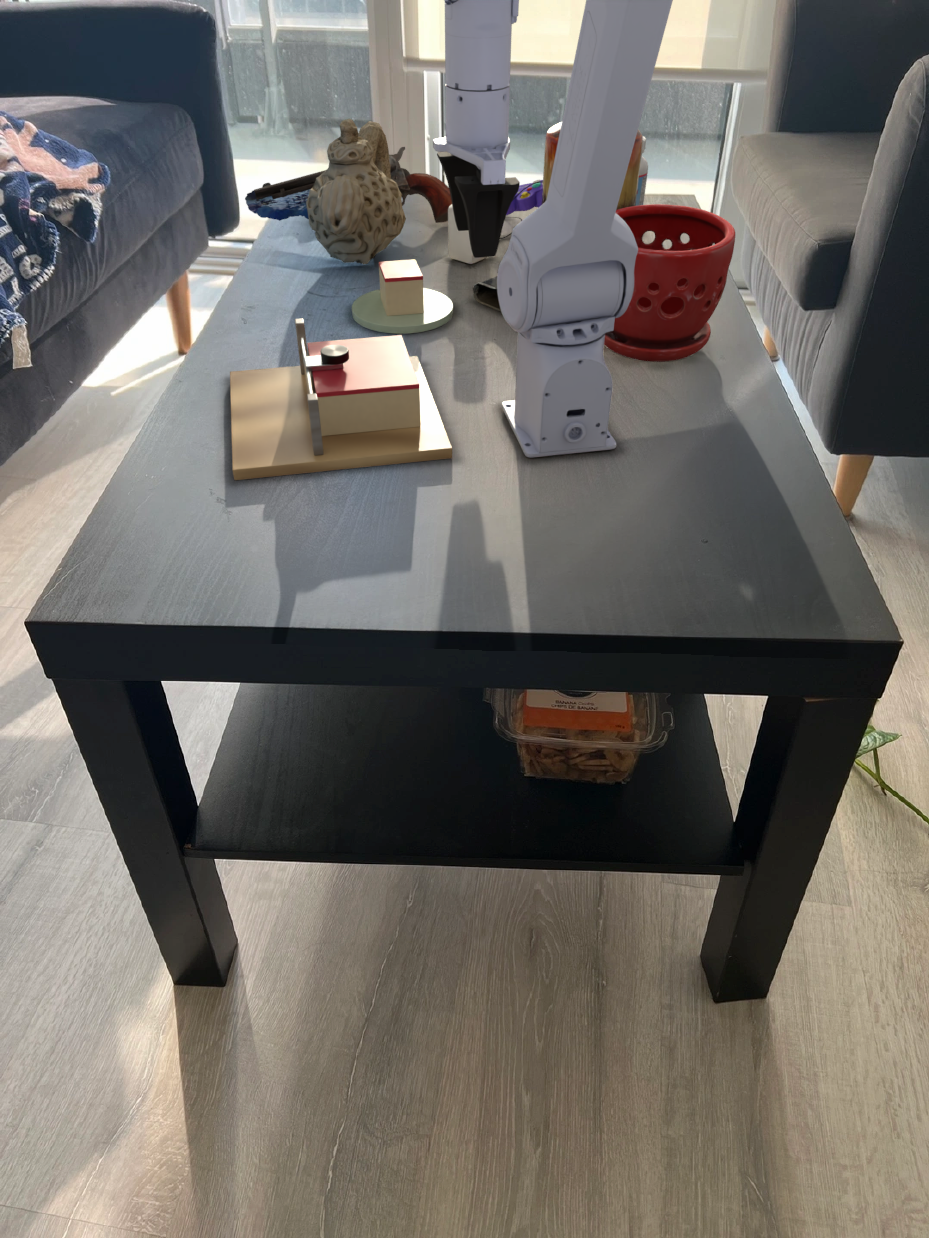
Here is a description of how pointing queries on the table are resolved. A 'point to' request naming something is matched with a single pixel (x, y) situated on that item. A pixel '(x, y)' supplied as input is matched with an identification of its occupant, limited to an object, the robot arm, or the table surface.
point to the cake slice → (401, 287)
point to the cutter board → (316, 427)
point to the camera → (487, 293)
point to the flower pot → (672, 282)
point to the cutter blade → (324, 360)
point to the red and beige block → (367, 387)
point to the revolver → (406, 182)
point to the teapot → (356, 196)
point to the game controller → (526, 198)
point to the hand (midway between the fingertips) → (475, 242)
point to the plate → (374, 316)
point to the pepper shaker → (459, 242)
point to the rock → (279, 205)
